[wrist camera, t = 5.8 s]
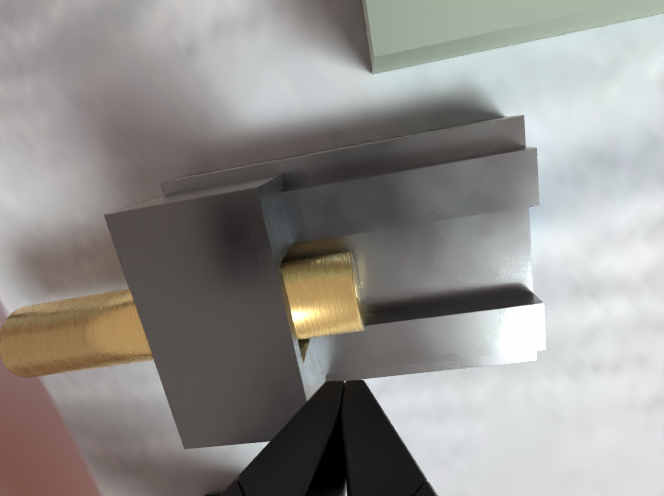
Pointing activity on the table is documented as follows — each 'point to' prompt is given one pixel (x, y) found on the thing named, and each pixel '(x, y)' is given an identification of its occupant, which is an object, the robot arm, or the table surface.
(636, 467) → the table surface
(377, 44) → the v block
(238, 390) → the grey slotted block
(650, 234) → the table surface
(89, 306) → the axle
